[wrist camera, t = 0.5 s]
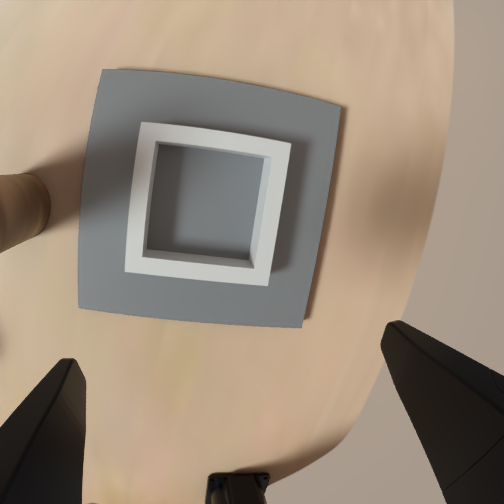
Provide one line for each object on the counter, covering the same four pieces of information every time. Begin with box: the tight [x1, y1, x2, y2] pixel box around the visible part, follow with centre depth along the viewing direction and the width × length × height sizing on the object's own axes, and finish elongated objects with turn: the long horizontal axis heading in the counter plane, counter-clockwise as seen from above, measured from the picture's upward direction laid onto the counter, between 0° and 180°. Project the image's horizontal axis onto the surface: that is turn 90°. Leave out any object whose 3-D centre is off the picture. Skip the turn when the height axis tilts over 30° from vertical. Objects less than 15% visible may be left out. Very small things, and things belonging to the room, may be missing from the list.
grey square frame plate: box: [78, 69, 341, 328], centre depth 19 cm, size 16×16×3 cm
